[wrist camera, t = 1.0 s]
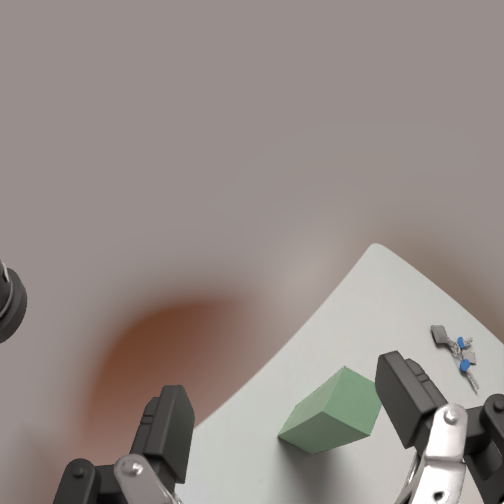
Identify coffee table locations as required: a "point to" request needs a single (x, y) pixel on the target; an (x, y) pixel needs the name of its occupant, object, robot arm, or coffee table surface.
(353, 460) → the coffee table surface
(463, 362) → the key chain
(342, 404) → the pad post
